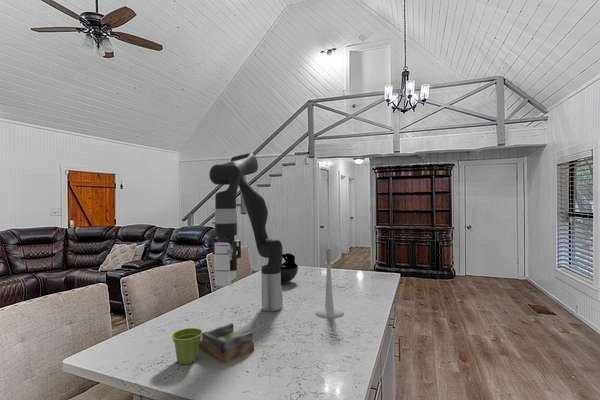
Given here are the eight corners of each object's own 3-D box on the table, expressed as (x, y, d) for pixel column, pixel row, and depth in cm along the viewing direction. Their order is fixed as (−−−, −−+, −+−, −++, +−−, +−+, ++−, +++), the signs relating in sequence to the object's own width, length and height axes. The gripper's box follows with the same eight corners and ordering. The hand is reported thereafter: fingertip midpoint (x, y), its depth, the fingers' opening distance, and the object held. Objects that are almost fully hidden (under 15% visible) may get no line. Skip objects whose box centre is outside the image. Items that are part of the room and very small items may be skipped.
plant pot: (176, 354, 107) (176, 328, 107) (205, 352, 107) (205, 327, 107) (167, 368, 97) (167, 340, 97) (198, 366, 98) (198, 338, 98)
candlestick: (347, 310, 147) (346, 246, 148) (338, 319, 136) (337, 250, 136) (321, 307, 153) (320, 244, 153) (311, 315, 141) (310, 248, 141)
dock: (221, 334, 122) (221, 318, 122) (254, 350, 108) (253, 332, 109) (192, 344, 113) (192, 328, 113) (224, 363, 100) (223, 344, 100)
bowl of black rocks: (297, 286, 190) (297, 255, 190) (264, 287, 190) (264, 255, 190) (298, 278, 210) (298, 250, 210) (268, 279, 210) (268, 250, 210)
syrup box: (230, 286, 106) (230, 242, 106) (214, 285, 107) (214, 242, 107) (237, 281, 111) (237, 240, 111) (221, 281, 113) (221, 240, 113)
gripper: (247, 222, 107) (247, 270, 107) (223, 220, 117) (224, 265, 117) (228, 223, 102) (228, 274, 102) (205, 221, 112) (205, 268, 111)
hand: (226, 269), depth 109 cm, fingers closed on syrup box, 7 cm apart
